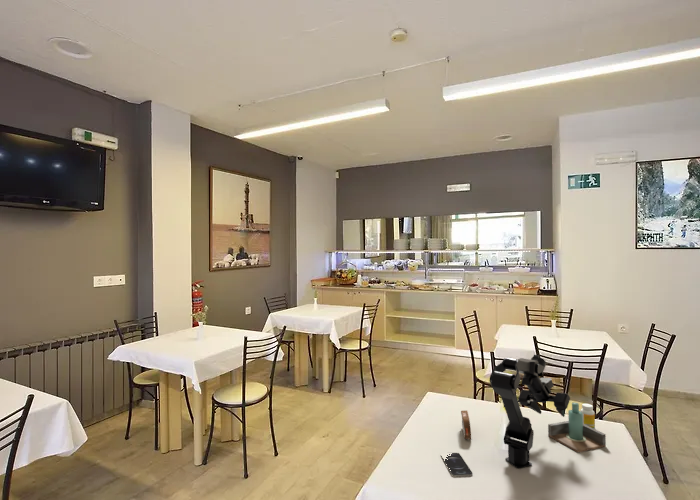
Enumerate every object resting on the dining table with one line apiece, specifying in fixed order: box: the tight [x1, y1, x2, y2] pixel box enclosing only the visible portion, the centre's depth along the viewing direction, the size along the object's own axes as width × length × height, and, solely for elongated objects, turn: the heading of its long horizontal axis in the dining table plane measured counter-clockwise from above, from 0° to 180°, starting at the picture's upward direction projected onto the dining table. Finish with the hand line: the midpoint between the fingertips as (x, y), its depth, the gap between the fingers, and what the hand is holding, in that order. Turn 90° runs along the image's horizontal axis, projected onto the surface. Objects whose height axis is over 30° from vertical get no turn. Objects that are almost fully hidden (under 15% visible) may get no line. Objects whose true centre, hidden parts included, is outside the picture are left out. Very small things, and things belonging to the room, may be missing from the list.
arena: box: [547, 420, 607, 453], centre depth 155 cm, size 14×14×5 cm
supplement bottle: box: [579, 403, 596, 430], centre depth 167 cm, size 5×5×10 cm
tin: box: [460, 410, 472, 440], centre depth 162 cm, size 15×3×8 cm, turn 168°
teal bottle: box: [567, 402, 583, 440], centre depth 156 cm, size 5×5×14 cm
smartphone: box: [442, 452, 473, 478], centre depth 139 cm, size 8×1×15 cm
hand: (552, 414), depth 156 cm, fingers open, 9 cm apart
